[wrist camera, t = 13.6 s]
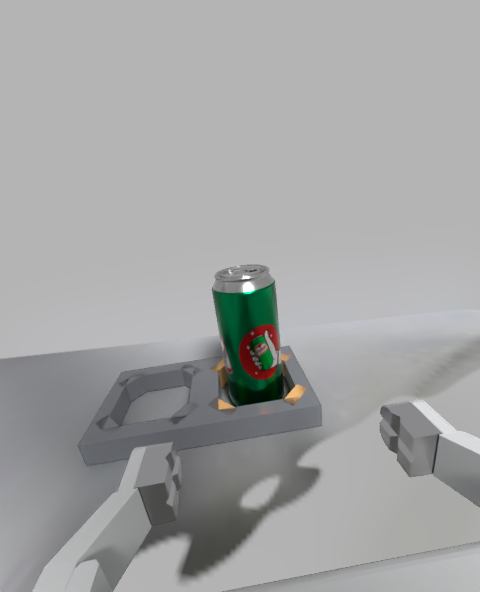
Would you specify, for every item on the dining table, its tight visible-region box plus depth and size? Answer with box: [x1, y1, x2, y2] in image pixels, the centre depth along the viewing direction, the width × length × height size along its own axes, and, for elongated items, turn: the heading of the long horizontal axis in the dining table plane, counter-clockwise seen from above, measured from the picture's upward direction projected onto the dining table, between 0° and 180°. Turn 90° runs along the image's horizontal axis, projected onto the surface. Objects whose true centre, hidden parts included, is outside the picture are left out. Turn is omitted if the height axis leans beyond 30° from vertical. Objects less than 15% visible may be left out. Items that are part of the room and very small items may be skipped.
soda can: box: [212, 265, 284, 406], centre depth 22 cm, size 5×5×12 cm
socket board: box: [78, 346, 322, 466], centre depth 23 cm, size 18×9×2 cm, turn 95°
